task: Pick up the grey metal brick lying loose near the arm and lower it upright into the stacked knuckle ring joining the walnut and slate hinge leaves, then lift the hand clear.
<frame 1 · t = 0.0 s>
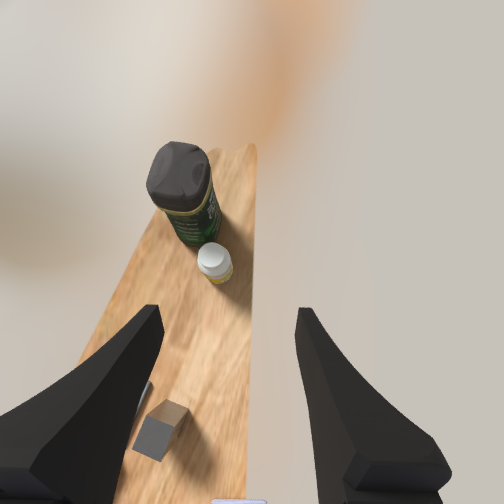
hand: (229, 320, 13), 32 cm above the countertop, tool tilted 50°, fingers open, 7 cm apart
grey metal brick: (172, 417, 40), on the countertop
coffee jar: (201, 225, 50), on the countertop
supplement bottle: (219, 270, 47), on the countertop
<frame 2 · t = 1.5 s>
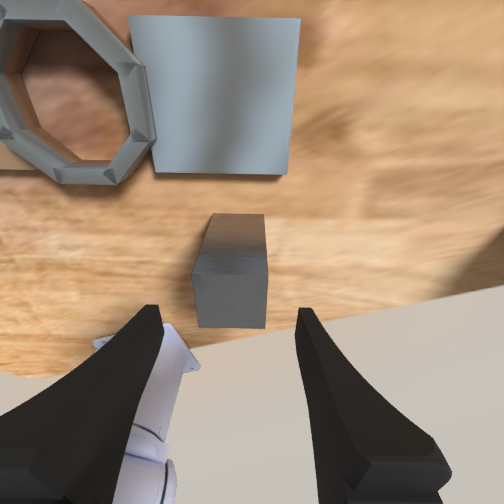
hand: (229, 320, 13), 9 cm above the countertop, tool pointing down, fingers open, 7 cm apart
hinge: (86, 102, 16), on the countertop
grey metal brick: (238, 236, 21), on the countertop
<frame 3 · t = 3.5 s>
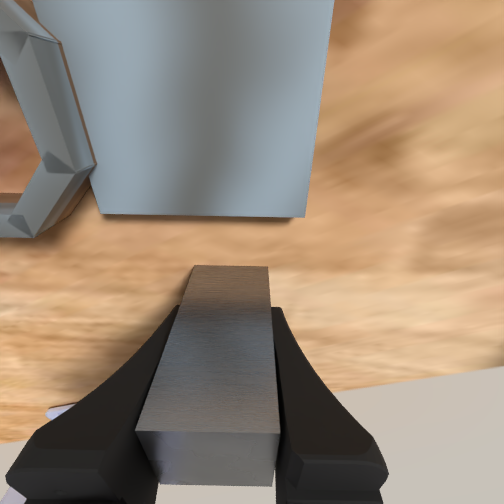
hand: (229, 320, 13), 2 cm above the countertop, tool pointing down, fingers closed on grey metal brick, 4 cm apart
grey metal brick: (232, 294, 15), on the countertop, touching gripper
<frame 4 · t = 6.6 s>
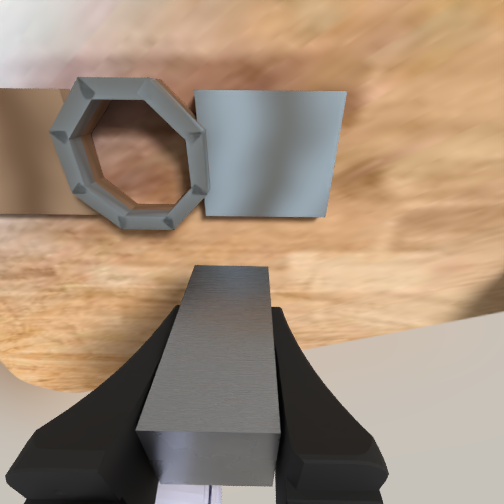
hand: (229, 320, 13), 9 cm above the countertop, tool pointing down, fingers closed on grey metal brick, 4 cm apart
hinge: (146, 157, 18), on the countertop
grey metal brick: (232, 294, 15), point 7 cm above the countertop, touching gripper
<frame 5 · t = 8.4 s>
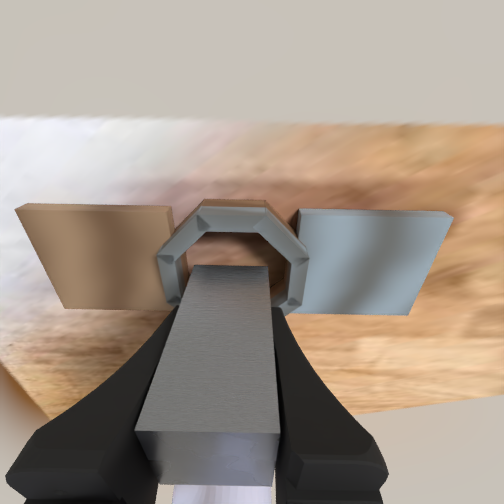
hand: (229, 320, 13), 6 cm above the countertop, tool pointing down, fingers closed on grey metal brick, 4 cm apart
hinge: (236, 260, 18), on the countertop
grey metal brick: (232, 293, 15), point 4 cm above the countertop, touching gripper
when the fingers open (3 cm above the countertop, at t = 10.0 s): grey metal brick drops 2 cm, resting in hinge.
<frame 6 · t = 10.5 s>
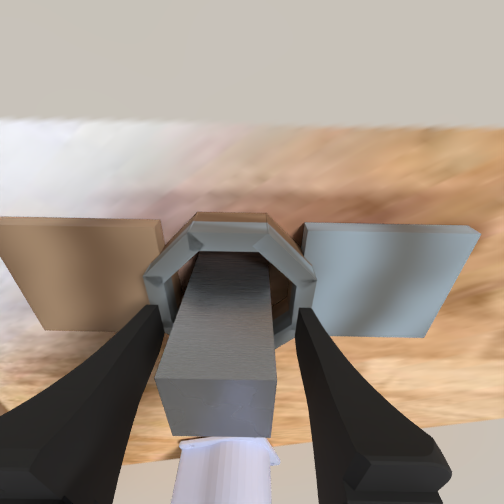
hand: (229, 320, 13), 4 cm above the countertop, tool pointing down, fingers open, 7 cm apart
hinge: (233, 278, 16), on the countertop
grey metal brick: (234, 278, 16), resting in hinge
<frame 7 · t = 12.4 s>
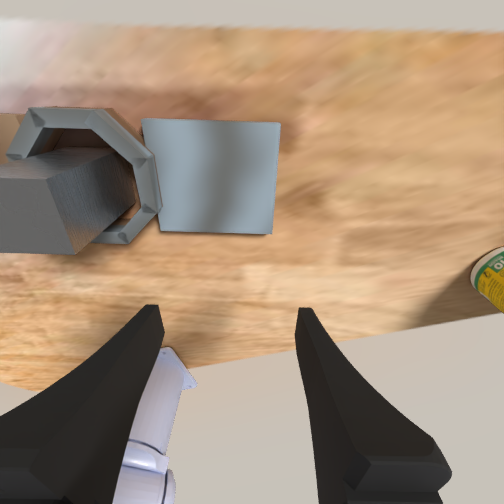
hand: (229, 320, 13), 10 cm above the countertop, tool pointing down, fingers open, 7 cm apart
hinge: (103, 176, 19), on the countertop
grey metal brick: (104, 175, 19), resting in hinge
supplement bottle: (498, 266, 23), on the countertop
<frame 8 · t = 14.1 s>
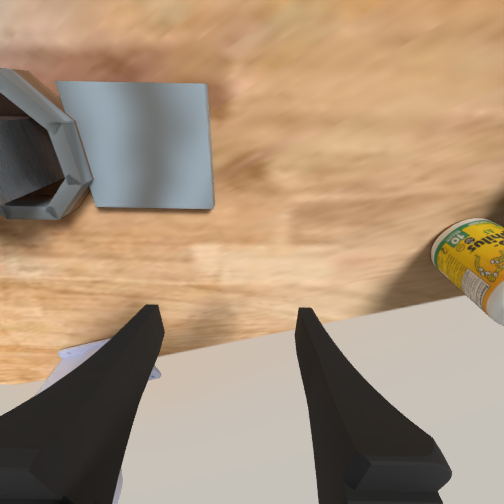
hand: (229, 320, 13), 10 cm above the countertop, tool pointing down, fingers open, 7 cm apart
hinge: (30, 147, 18), on the countertop
grey metal brick: (31, 147, 18), resting in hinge
supplement bottle: (460, 243, 22), on the countertop
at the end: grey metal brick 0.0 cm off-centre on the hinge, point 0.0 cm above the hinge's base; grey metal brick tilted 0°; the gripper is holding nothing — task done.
